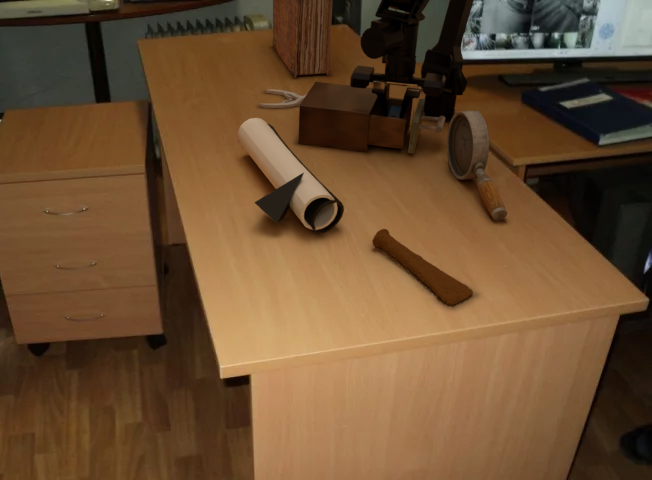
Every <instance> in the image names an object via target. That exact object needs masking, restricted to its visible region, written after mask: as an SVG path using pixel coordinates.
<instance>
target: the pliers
mask: <svg viewBox="0 0 652 480" xmlns="http://www.w3.org/2000/svg"><path fill="white" fill-rule="evenodd" d="M265 93H266V94H273V95H280V96H283V97H285V98H286V99H285V100H283V101H281V102H276V103H265V102H264V103H263V102H261V103H260V104H259V107H260V108H263V109H265V108H266V109H288V108H295V107H298V106H300V104H301V102H302V101H303V99H304V98H305V96H306V95H307V93H306V94H304V95H300V94H298V93H297V92H293V91H289V90H284V89H273V88H272V89H269V88H268V89H266V90H265Z"/></svg>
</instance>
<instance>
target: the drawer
mask: <svg viewBox="0 0 652 480" xmlns="http://www.w3.org/2000/svg"><path fill="white" fill-rule="evenodd" d="M403 99H404V98H402V97H401V98H400V97H391V96H389V112H390V109H391V107H392V105H393V106H401V107H402V103H403ZM417 102H418V103H417V105H416V108H415V112H414V114H413V117H412V111H413V104H414V99H413V100H412V101H411V103H410V104H409V106H408V107H407V110H406V112H405V114H404V116H403V118H402V119H401V118H393V117H385V115H384V112H383V109H382V106H381V103H380V101H379V99H377V101H376V103H375V106H374V108H373V110H372V112H371V114H370V121H369V132H368V145H369V146H377V147H384V148H391V149H399V150H403V148H404V145H405V142H406V139H407V137H408V133H409V130H410V134H409V140H408V141H409V143H408V151H407V153H409V154H415V151H416V147H417V144H418V141H419V138H420V135H421V131H422V130H430V131H435V132H436V133H437V134H441V133H443V130H444V126H445V122H446V121H445V117H444V116H440V117H439V119H438V117H431V116H424V113H423V112H424V105H425V98H418V101H417ZM411 119H412V120H411ZM423 120H426V121H436V126H433V125H425V124H424V125H423Z"/></svg>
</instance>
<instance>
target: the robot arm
mask: <svg viewBox="0 0 652 480" xmlns="http://www.w3.org/2000/svg"><path fill="white" fill-rule="evenodd" d="M430 1H431V0H381V1H380V3H379V5H378V6H377V9H376V11H375V14H374V16H375V17H376V18H379V19H373V20H371V22H370V27H368V28H366V29H365V30H364V31H363V33H362V34H361V37H360V48H361V50H362V52H363V53H364V55H365V56H366V57H367V58H369V59H371V60H377V59H381V63H382V64H385V66H384V73H378V72H375V67H374V66H368V65H367V66H365V65H357V66H355V68H354V70H353V71H352V73H351V75H350V82H349V86H351V87H355V88H364V89H365V88H366V87H367V88H368V87H369V85H370V83H372V85H373V86H372V88H373V89H372V93H374V94H376V95H377V97H378V99H379V101H380V103H381V106H382V109H383V112H384V115H385V117H388V114H389V97H390V88H391V86H400V87H406V89H405V92H404V94H403V95H404V96H403V98H402V99H403V103H402V107H401V111H400V115H399V118H401V119H402V118H403V116H404V114H405V112H406V110H407V107H408V106H409V104H410V103H411V101H412V100H413V101H414V99H420V96H421V93H422V92H423V93H424V99H425V105H424V112H423V116H431V117H438V119H439V117H440V116H444V117H445V122H450V121H451V119H452V117H453V116H454V115H455V113H456V109H455V107H456V103H457V97H458V96H463V95H464V92H465V91H466V89H467V85H468V80H467V78H466V76H465V75H464V73H463V67H464V57H463V53H462V48H461V46H462V43H463V38H464V36H465V32H466V28H467V24H468V21H469V18H470V13H471V11H472V7H473V5H474V0H449V1H448V5H447V8H446V12H445V16H444V19H443V23H442V27H441V30H440V33H439V38H438V41H437V43H435V45H433V47H432V48H428V49H427V50H426V51H425V54H424V59H423V63H422V65H421V67H420V77H417V76H416V77H415V76H414V75H415V74H416V67H417V55H416V54H417V53H416V52H417V45H418V37H419V28H420V22H422V21H424V20H425V19H426V16H425V14H423V11H424V10H425V8H426V7H427V6H428V4H429V2H430ZM393 9H394V10H393Z"/></svg>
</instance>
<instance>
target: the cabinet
mask: <svg viewBox="0 0 652 480" xmlns="http://www.w3.org/2000/svg"><path fill="white" fill-rule="evenodd" d="M372 89H373V87H368V86H367V87H366V88H365V89H364V88H355V87H351V86H350V84H349V85H348V84H339V83H331V82H322V81H315V82H314V83H313V84H312V86H311V87H310V89H309V91H308V92H307V93H306V94H307V95H306V96H305V98H304V99H303V101H302V102H301V104H300V105H299V107H298V108H299V109H298V110H299V111H298V112H299V113H298V115H299V116H298V144H299V145H300V144H301V145H308V146H313V147H314V146H315V147H322V148H328V149H329V148H330V149H338V150H346V151H353V152H361V153H367V152H368V149H369V147H370V145H368V132H369V121H370V114H371V112H372V110H373V108H374V106H375V103H376V101H377V99H378V97H377V95H376V94H374V93H372Z"/></svg>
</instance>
